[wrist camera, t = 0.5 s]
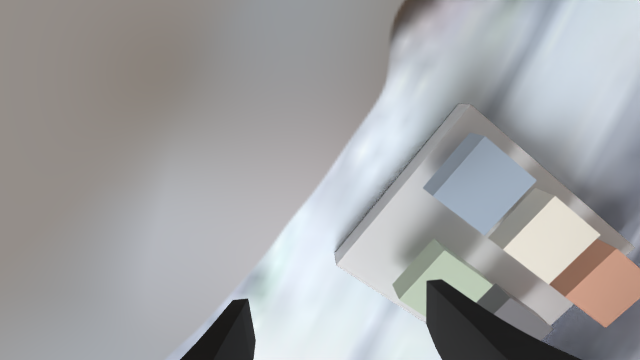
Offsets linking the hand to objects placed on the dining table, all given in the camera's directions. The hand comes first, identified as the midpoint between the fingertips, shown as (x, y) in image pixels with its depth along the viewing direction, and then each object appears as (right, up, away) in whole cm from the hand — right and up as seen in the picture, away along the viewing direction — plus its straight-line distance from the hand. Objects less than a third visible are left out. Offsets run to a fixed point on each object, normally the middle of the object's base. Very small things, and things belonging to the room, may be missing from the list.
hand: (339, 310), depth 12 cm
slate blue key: (+8, +5, +6) cm, 11 cm away
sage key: (+7, -1, +7) cm, 10 cm away
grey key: (+11, -4, +8) cm, 14 cm away
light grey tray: (+11, 0, +10) cm, 14 cm away
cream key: (+12, +2, +7) cm, 14 cm away
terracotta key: (+17, -1, +8) cm, 19 cm away
